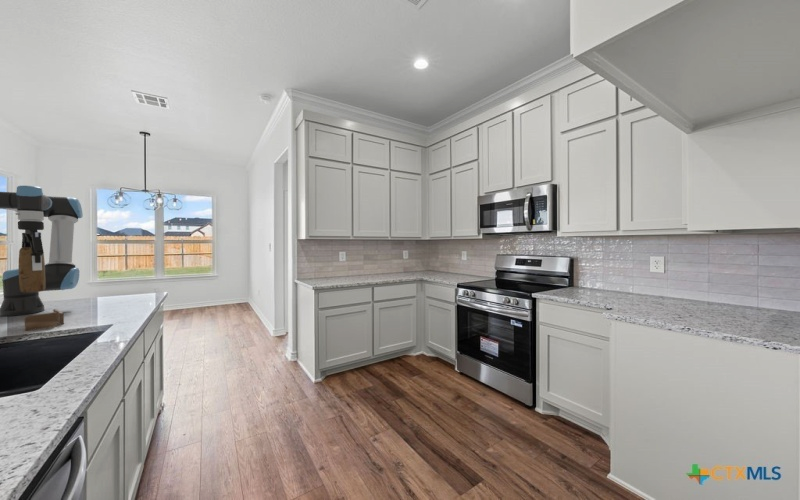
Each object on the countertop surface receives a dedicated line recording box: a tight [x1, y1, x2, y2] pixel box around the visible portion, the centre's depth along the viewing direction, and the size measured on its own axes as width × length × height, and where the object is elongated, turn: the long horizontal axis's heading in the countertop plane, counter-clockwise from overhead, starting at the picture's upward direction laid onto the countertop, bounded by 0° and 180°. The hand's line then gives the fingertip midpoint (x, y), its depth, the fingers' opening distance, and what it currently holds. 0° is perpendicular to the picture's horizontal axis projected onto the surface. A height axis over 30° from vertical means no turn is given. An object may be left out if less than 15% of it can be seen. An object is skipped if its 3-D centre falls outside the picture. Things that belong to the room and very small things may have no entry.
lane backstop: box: [24, 312, 58, 332], centre depth 136 cm, size 1×9×6 cm, turn 147°
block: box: [18, 247, 46, 293], centre depth 141 cm, size 11×8×20 cm
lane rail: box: [52, 308, 65, 325], centre depth 146 cm, size 14×1×5 cm, turn 57°
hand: (32, 269), depth 140 cm, fingers closed on block, 11 cm apart
